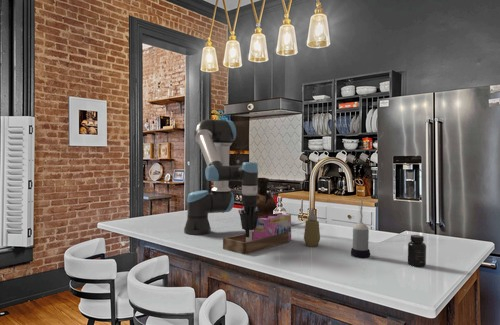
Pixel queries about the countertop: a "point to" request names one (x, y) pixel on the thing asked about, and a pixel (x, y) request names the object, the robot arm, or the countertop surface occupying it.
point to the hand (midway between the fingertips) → (248, 243)
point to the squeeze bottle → (312, 230)
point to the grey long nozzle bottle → (360, 238)
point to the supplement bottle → (417, 251)
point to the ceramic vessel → (264, 198)
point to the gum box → (272, 226)
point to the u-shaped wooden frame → (253, 243)
